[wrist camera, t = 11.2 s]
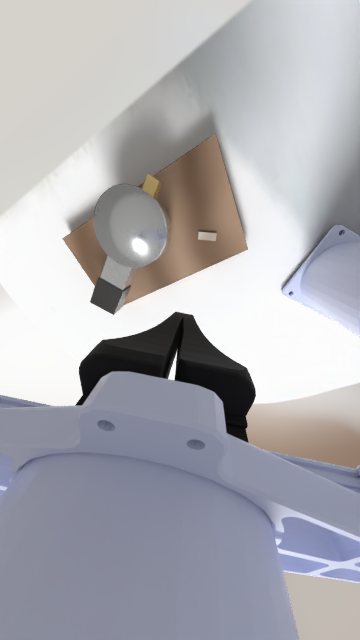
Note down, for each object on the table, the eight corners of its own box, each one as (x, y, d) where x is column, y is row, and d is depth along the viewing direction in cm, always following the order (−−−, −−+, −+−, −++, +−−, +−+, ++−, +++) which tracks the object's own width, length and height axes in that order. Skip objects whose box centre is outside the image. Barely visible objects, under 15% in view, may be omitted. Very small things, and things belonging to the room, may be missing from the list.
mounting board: (244, 248, 19) (250, 250, 16) (116, 306, 24) (108, 313, 22) (214, 142, 15) (216, 126, 13) (71, 238, 20) (55, 238, 18)
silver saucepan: (128, 162, 14) (110, 146, 11) (188, 204, 15) (186, 198, 12) (90, 286, 20) (73, 295, 17) (135, 312, 21) (126, 323, 18)
